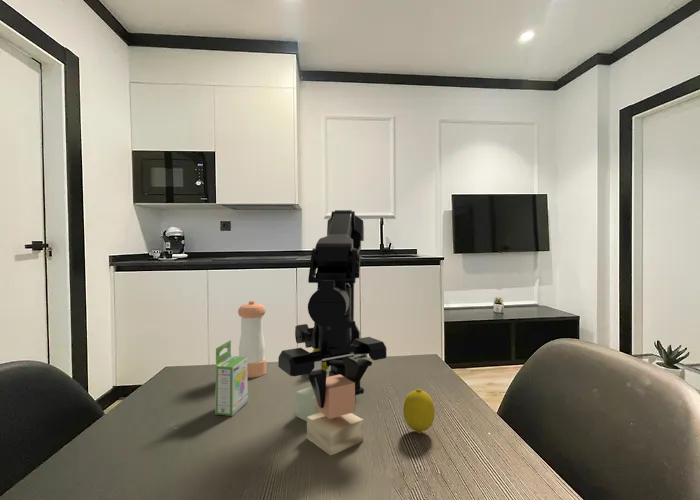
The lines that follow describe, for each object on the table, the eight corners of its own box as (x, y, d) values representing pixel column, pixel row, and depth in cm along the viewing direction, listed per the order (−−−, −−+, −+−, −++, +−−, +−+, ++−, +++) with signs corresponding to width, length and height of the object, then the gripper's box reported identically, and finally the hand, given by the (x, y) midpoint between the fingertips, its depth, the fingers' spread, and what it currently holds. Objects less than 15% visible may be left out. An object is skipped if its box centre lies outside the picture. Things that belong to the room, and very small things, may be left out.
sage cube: (315, 408, 78) (315, 384, 78) (332, 416, 74) (332, 391, 74) (296, 416, 74) (296, 391, 74) (313, 425, 71) (313, 398, 71)
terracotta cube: (340, 401, 69) (340, 374, 68) (354, 411, 64) (354, 382, 64) (315, 407, 66) (315, 379, 66) (329, 419, 62) (329, 388, 62)
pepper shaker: (238, 369, 102) (238, 299, 101) (265, 367, 103) (265, 298, 103) (236, 379, 95) (236, 303, 94) (266, 376, 96) (266, 302, 96)
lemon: (416, 443, 64) (416, 397, 64) (397, 429, 69) (397, 386, 69) (441, 436, 66) (441, 391, 66) (421, 423, 71) (421, 381, 71)
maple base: (338, 427, 70) (338, 406, 70) (363, 442, 65) (363, 419, 65) (306, 439, 66) (306, 416, 66) (330, 456, 60) (330, 432, 60)
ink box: (233, 416, 74) (233, 349, 74) (214, 415, 74) (214, 348, 74) (248, 402, 81) (248, 340, 81) (230, 401, 81) (230, 339, 81)
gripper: (355, 303, 77) (355, 379, 77) (267, 312, 67) (267, 399, 67) (388, 311, 67) (388, 398, 67) (291, 323, 57) (291, 424, 58)
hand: (334, 403), depth 65 cm, fingers closed on terracotta cube, 5 cm apart
